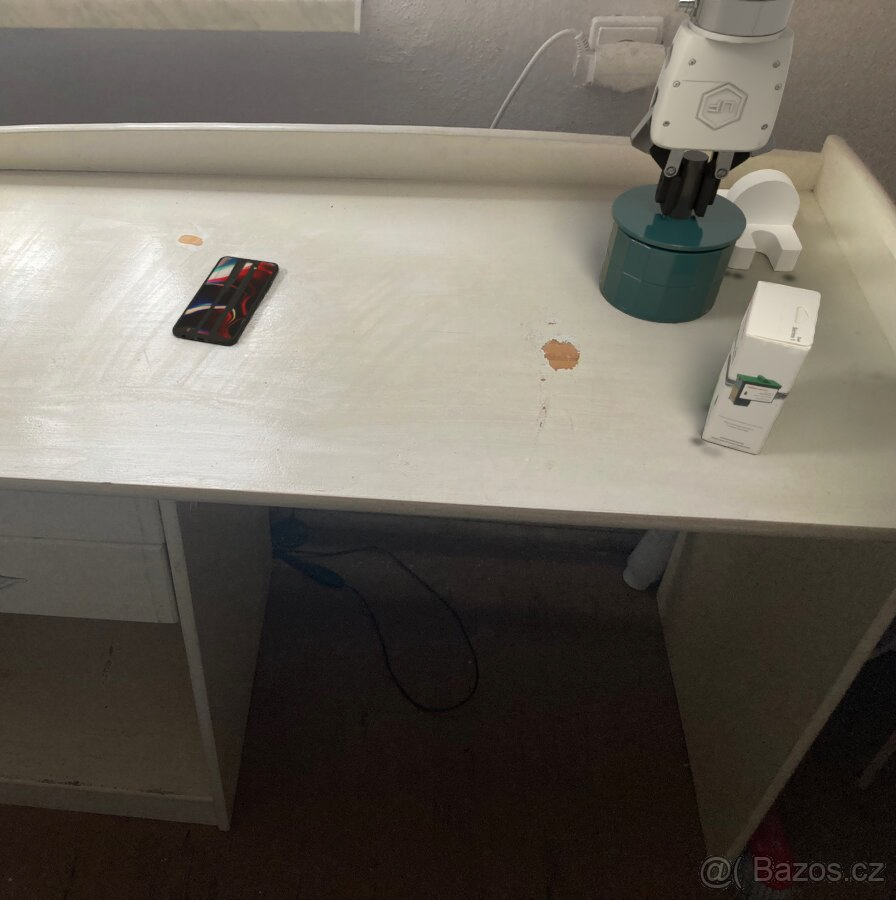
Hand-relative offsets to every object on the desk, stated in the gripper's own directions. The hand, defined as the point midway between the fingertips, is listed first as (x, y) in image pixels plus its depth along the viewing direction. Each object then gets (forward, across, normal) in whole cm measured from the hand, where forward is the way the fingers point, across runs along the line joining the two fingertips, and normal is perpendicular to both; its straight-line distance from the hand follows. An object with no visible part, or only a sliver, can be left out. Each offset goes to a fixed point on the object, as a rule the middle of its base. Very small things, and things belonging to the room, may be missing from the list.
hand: (681, 208), depth 85 cm
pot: (+10, 0, 0) cm, 10 cm away
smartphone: (+10, -45, -7) cm, 47 cm away
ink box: (+10, +4, -20) cm, 23 cm away
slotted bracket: (+10, +12, +12) cm, 19 cm away
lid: (+1, 0, 0) cm, 1 cm away
